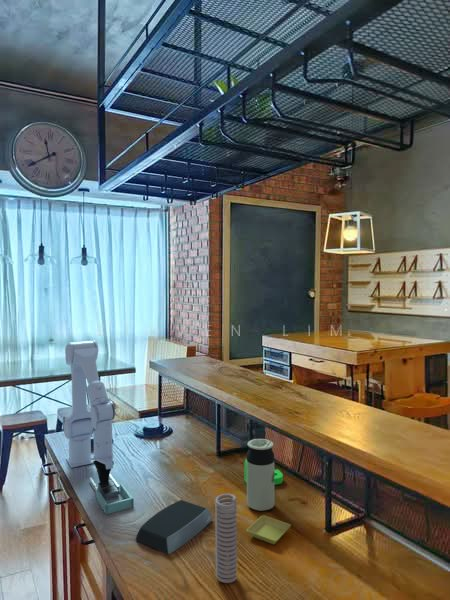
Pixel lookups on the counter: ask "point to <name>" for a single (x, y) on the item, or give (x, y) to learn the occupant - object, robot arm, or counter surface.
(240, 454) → the counter surface
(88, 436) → the robot arm
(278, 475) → the mechanical part
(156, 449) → the counter surface
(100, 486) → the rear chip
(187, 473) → the counter surface
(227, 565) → the coil
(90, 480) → the slot guide
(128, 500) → the tray
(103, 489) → the block
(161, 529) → the external hard drive
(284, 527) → the saucer
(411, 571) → the counter surface
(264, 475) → the travel mug
